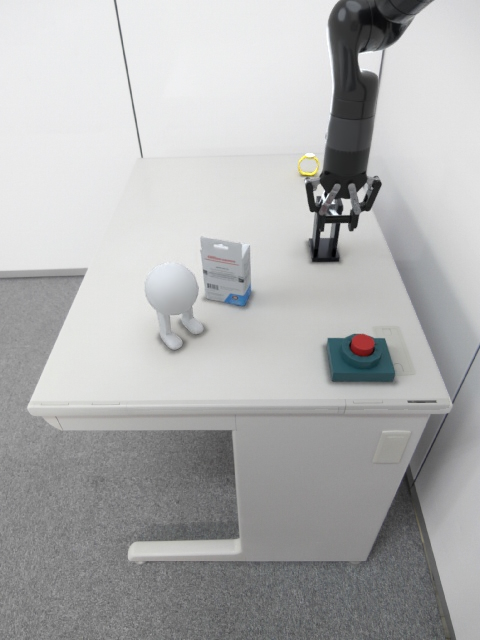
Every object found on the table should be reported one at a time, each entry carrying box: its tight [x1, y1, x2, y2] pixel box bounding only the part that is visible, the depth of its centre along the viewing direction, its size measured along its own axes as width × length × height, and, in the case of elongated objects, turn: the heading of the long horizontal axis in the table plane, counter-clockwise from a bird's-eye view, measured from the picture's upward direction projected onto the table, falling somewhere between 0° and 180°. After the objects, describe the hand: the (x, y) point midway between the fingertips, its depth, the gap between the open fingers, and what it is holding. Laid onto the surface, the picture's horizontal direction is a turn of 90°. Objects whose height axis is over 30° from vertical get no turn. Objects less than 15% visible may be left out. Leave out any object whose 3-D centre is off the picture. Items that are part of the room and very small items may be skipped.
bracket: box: [307, 195, 344, 263], centre depth 96 cm, size 8×6×13 cm
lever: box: [325, 200, 351, 225], centre depth 89 cm, size 12×5×2 cm, turn 179°
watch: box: [297, 152, 320, 177], centre depth 128 cm, size 6×3×6 cm, turn 81°
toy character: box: [144, 261, 205, 351], centre depth 77 cm, size 9×9×15 cm
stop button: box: [351, 333, 374, 357], centre depth 73 cm, size 4×4×2 cm
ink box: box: [199, 235, 252, 307], centre depth 85 cm, size 8×5×15 cm, turn 71°
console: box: [325, 333, 396, 383], centre depth 74 cm, size 10×8×4 cm
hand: (336, 229), depth 85 cm, fingers closed on lever, 5 cm apart
